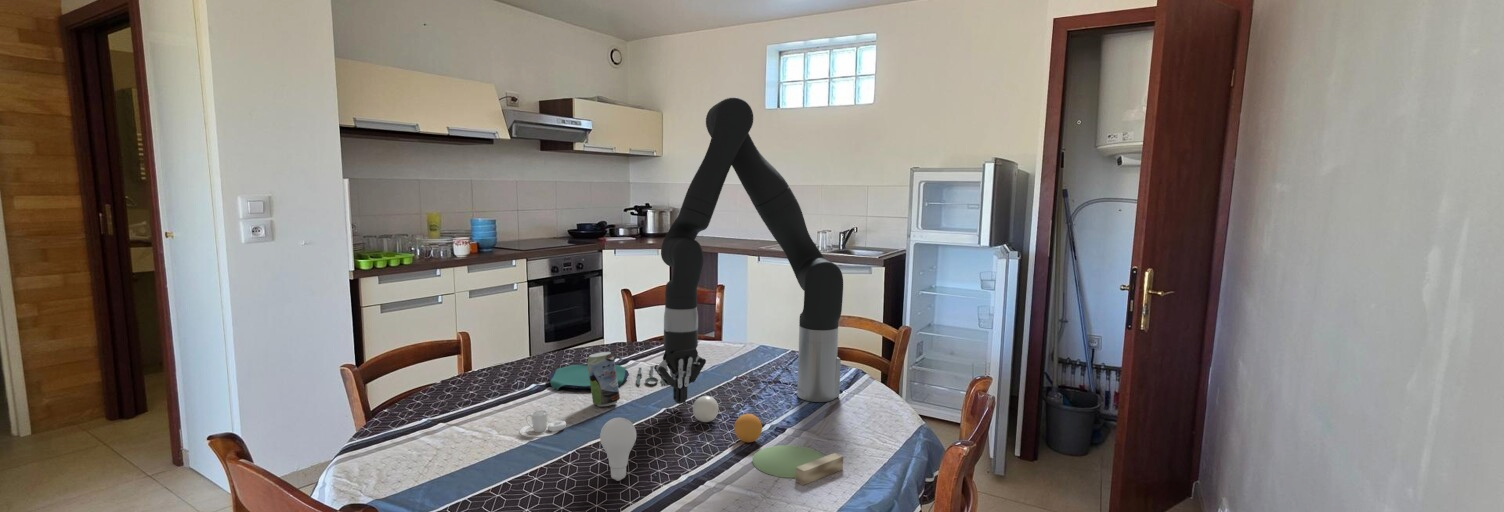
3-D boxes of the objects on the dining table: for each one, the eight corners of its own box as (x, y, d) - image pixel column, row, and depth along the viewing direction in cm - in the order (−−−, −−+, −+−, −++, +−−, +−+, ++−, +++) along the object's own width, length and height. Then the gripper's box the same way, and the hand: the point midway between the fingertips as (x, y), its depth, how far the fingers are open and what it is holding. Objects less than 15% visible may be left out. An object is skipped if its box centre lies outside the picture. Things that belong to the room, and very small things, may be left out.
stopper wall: (834, 465, 125) (834, 452, 124) (842, 469, 123) (843, 456, 123) (795, 481, 118) (795, 467, 118) (803, 485, 117) (804, 471, 116)
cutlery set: (554, 371, 181) (554, 363, 181) (668, 369, 186) (668, 361, 185) (542, 395, 162) (542, 386, 162) (669, 392, 166) (669, 383, 166)
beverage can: (613, 410, 151) (613, 357, 150) (582, 407, 153) (582, 355, 151) (624, 401, 157) (624, 350, 156) (594, 398, 159) (594, 348, 157)
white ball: (712, 415, 149) (712, 391, 149) (722, 423, 144) (722, 398, 144) (688, 418, 147) (689, 394, 146) (698, 427, 142) (698, 402, 141)
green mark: (803, 441, 136) (803, 440, 136) (842, 469, 123) (842, 468, 123) (739, 453, 129) (739, 452, 129) (774, 483, 117) (774, 482, 117)
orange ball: (754, 434, 139) (754, 408, 138) (766, 444, 134) (767, 417, 133) (729, 438, 136) (730, 412, 136) (741, 448, 132) (741, 421, 131)
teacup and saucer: (571, 428, 141) (571, 409, 141) (548, 442, 134) (547, 422, 133) (536, 422, 144) (535, 404, 144) (511, 436, 137) (510, 416, 136)
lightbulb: (602, 472, 120) (602, 412, 119) (637, 472, 120) (637, 412, 119) (598, 488, 114) (597, 425, 113) (634, 487, 114) (634, 424, 113)
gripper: (695, 320, 158) (694, 392, 160) (646, 327, 149) (645, 404, 151) (715, 326, 152) (713, 401, 154) (665, 334, 143) (664, 413, 145)
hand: (680, 402), depth 153 cm, fingers closed
